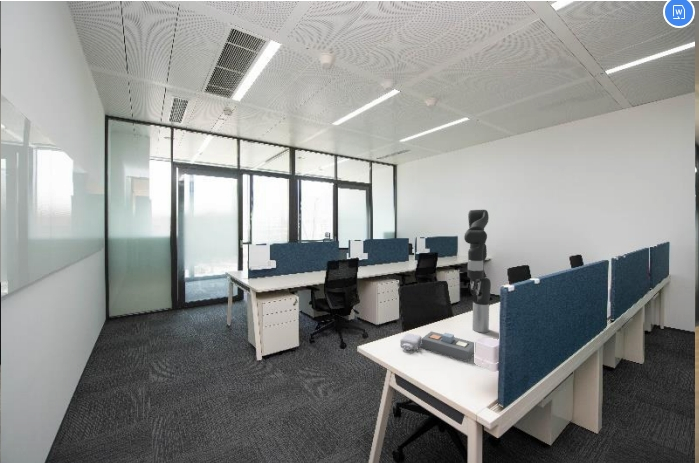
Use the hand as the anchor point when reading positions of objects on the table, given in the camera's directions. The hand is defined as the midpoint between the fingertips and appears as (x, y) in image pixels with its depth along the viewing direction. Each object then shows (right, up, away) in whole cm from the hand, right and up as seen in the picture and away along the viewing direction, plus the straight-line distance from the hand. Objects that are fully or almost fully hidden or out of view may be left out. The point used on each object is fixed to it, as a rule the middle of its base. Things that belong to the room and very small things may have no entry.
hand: (475, 301), depth 149 cm
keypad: (-14, -26, +2) cm, 30 cm away
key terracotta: (-19, -26, +7) cm, 33 cm away
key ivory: (-8, -26, -2) cm, 27 cm away
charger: (-33, -27, +5) cm, 43 cm away
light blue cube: (-14, -23, +2) cm, 27 cm away
